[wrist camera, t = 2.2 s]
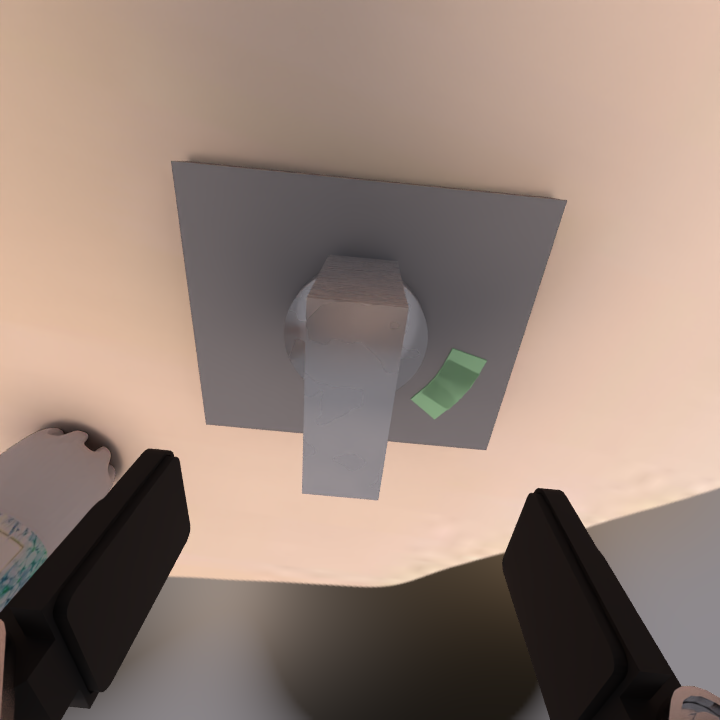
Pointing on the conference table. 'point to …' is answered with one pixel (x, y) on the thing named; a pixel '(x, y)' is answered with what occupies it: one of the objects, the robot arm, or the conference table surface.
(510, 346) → the dial board
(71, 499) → the bottle
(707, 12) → the conference table surface
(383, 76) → the conference table surface
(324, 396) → the knob
